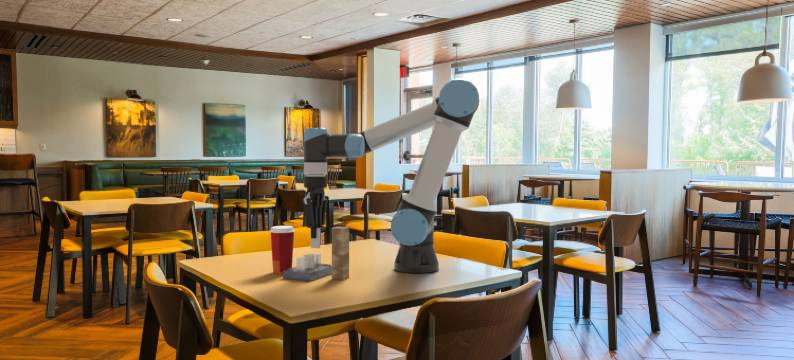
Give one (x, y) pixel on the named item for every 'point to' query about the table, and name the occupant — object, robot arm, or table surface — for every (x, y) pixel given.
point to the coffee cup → (282, 247)
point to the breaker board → (308, 269)
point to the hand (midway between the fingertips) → (315, 247)
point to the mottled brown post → (340, 253)
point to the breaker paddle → (310, 260)
